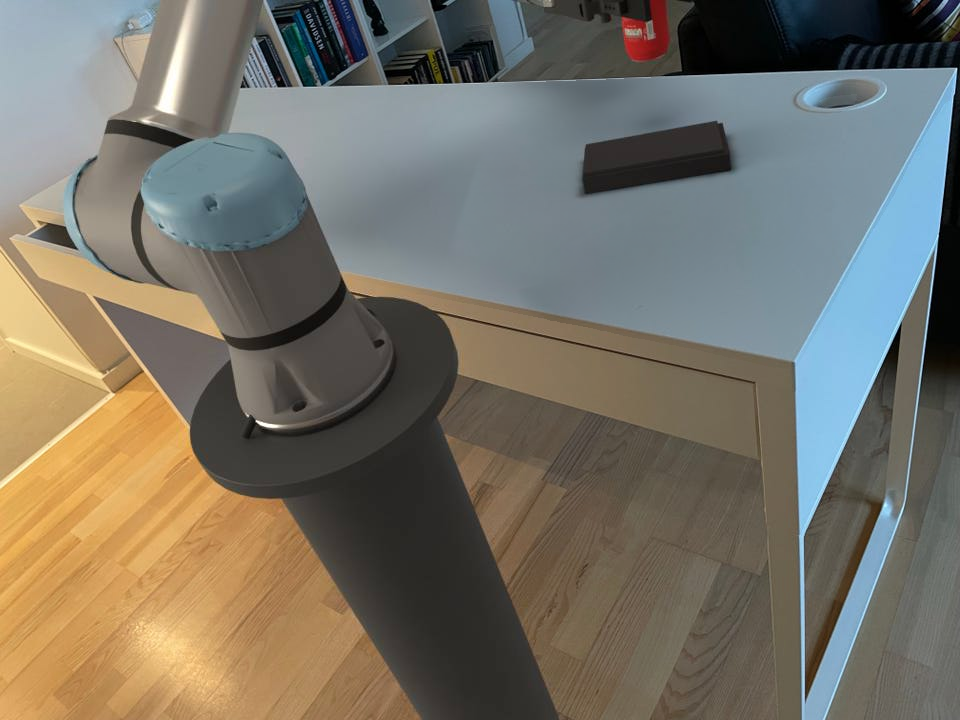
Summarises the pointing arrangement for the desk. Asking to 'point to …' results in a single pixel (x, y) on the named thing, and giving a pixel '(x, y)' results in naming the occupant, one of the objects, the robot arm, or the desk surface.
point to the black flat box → (655, 157)
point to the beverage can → (647, 34)
